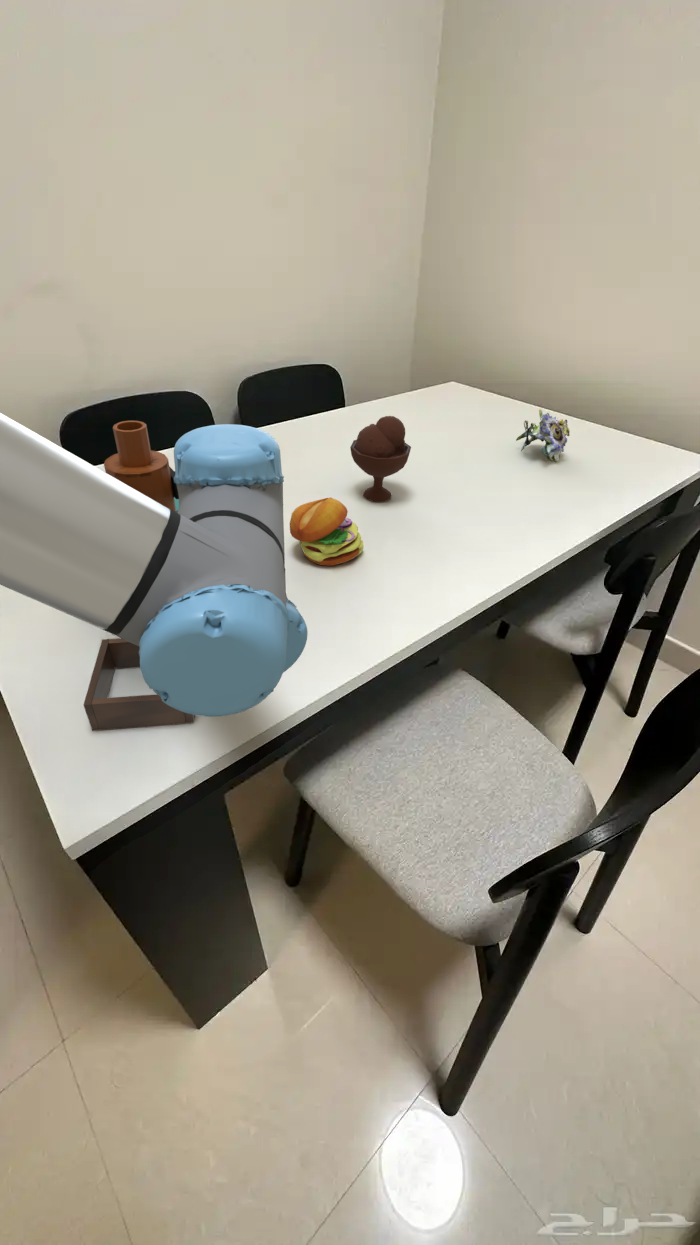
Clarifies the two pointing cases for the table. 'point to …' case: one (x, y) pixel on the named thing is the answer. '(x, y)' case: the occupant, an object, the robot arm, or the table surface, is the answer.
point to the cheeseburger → (326, 532)
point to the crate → (124, 709)
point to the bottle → (140, 463)
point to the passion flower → (547, 435)
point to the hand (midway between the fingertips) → (129, 474)
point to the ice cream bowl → (381, 454)
